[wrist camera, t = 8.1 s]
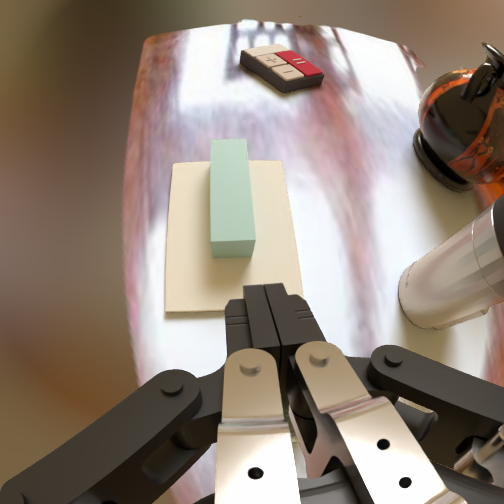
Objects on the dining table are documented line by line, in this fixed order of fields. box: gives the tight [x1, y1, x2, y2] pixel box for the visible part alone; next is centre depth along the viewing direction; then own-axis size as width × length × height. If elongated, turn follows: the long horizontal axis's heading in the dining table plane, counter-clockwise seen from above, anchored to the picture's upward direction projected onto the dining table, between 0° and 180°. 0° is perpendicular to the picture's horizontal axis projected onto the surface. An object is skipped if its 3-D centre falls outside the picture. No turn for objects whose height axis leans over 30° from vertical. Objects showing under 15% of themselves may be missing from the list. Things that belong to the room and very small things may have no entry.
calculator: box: [240, 44, 324, 93], centre depth 48 cm, size 11×4×15 cm
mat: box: [165, 161, 304, 312], centre depth 33 cm, size 20×15×1 cm
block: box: [210, 139, 256, 258], centre depth 32 cm, size 4×4×14 cm
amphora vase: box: [413, 41, 504, 192], centre depth 31 cm, size 22×22×28 cm
